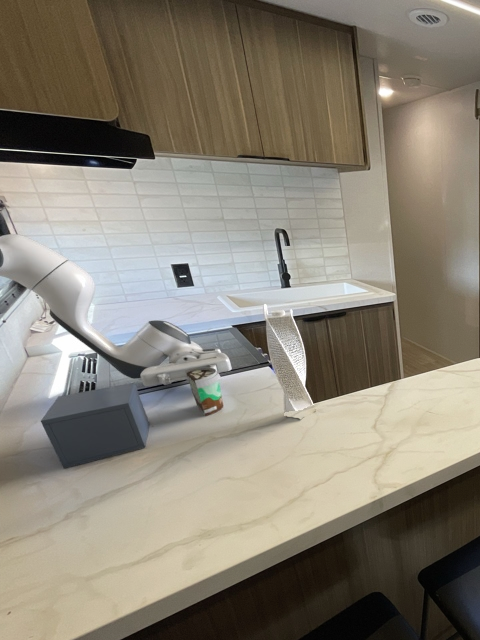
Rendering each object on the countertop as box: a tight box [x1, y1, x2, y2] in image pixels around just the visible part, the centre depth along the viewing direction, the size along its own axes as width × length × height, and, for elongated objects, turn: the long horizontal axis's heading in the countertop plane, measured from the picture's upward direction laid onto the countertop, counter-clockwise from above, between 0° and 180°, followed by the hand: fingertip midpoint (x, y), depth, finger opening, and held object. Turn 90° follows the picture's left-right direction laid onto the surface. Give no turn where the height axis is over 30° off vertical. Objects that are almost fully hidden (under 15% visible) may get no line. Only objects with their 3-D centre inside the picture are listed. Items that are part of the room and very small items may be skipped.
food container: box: [185, 368, 224, 417], centre depth 105 cm, size 12×6×10 cm, turn 46°
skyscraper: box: [262, 303, 315, 414], centre depth 97 cm, size 8×8×28 cm
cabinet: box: [40, 382, 150, 469], centre depth 88 cm, size 15×13×11 cm
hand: (188, 377), depth 108 cm, fingers open, 8 cm apart
